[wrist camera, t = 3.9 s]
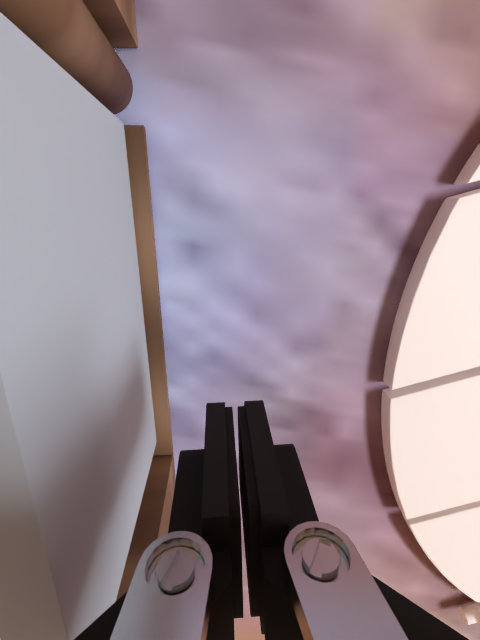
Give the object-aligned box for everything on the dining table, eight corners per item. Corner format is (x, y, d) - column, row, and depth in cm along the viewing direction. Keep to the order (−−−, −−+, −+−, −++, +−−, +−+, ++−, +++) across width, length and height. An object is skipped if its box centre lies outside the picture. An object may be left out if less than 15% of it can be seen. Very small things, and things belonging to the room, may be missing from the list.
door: (51, 123, 12) (-395, -105, 3) (123, 123, 12) (-119, -96, 3) (103, 444, 16) (-32, 726, 7) (156, 441, 16) (86, 714, 7)
